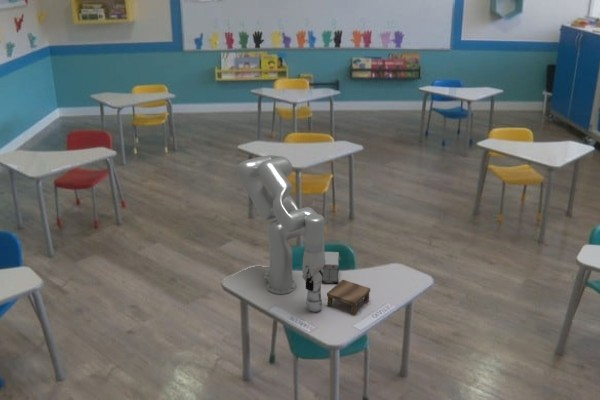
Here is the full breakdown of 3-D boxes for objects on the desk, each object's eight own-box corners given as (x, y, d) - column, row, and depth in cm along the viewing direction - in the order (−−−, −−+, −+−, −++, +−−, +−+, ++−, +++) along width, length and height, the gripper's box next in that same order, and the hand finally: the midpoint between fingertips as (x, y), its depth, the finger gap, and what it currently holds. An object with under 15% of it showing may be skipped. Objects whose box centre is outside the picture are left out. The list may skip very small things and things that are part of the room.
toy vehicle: (340, 265, 264) (341, 246, 260) (339, 285, 248) (340, 265, 244) (319, 265, 265) (320, 245, 261) (318, 284, 249) (318, 264, 245)
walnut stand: (326, 305, 233) (326, 293, 231) (342, 291, 243) (342, 279, 241) (354, 315, 226) (355, 302, 224) (369, 300, 236) (370, 288, 234)
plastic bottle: (312, 315, 226) (313, 271, 219) (302, 308, 231) (302, 264, 224) (325, 310, 230) (326, 266, 222) (315, 303, 235) (315, 260, 227)
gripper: (318, 234, 228) (317, 274, 235) (293, 251, 215) (294, 292, 222) (334, 239, 224) (333, 279, 231) (310, 257, 211) (310, 298, 218)
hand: (314, 285), depth 226 cm, fingers closed on plastic bottle, 6 cm apart
